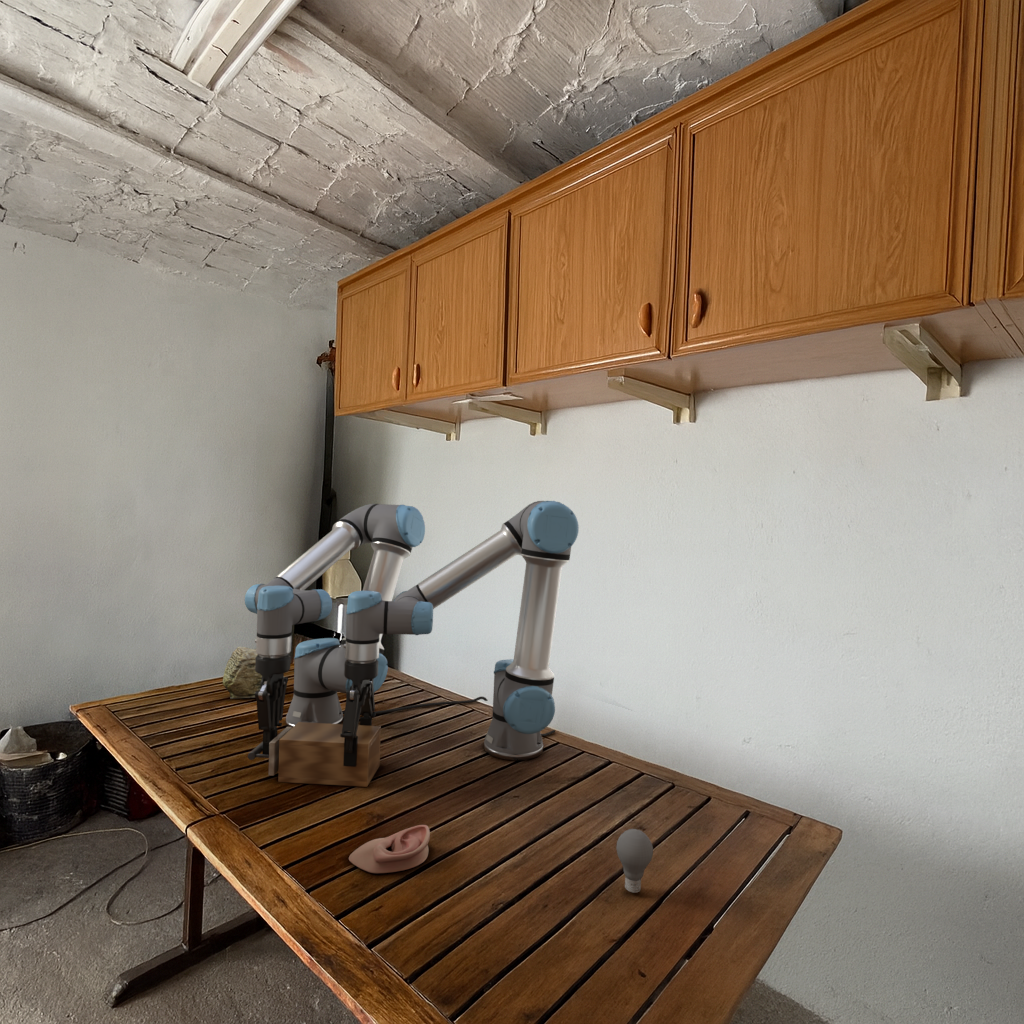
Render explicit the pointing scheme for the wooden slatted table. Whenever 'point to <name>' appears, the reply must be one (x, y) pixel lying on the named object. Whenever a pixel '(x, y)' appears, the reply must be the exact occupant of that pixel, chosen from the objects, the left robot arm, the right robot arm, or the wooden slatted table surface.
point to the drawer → (270, 752)
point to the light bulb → (634, 857)
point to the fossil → (242, 674)
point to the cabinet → (327, 755)
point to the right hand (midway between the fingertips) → (357, 755)
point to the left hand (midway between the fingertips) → (269, 756)
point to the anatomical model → (393, 851)
